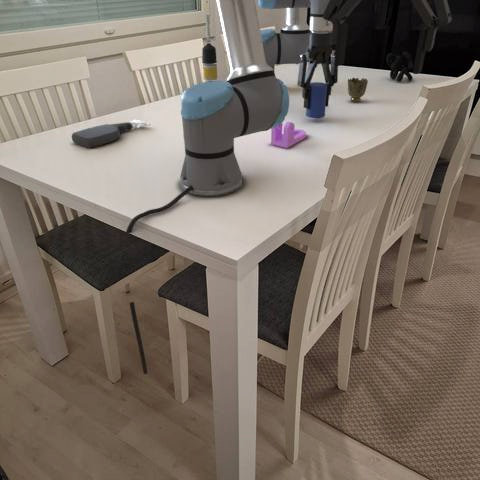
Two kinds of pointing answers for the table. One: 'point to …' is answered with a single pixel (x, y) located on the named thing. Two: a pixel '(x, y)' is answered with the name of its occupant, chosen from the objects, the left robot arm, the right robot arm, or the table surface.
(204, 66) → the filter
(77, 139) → the dark grey flat piece
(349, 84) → the cup
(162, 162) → the table surface
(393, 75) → the squiggle
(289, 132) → the bracket
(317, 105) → the can
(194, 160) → the left robot arm
